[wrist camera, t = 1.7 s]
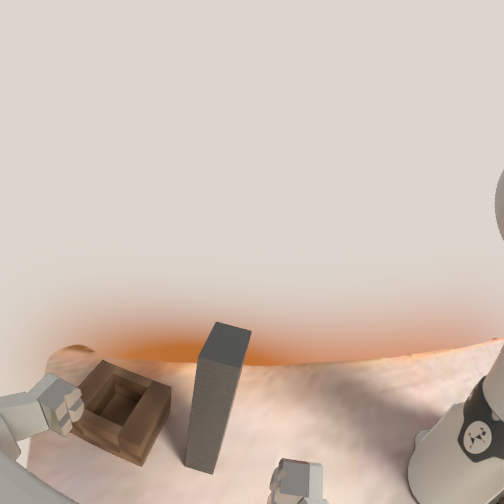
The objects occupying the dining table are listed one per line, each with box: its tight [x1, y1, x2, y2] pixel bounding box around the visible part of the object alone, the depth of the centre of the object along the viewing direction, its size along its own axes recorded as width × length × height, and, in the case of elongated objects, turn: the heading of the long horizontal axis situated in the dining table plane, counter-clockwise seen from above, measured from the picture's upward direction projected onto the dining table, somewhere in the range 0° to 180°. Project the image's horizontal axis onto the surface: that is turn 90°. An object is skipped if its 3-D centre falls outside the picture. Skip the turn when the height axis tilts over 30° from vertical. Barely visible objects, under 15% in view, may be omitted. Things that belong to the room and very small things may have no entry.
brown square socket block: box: [70, 360, 171, 467], centre depth 27 cm, size 9×9×4 cm
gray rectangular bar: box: [185, 322, 251, 474], centre depth 25 cm, size 3×5×16 cm, turn 171°
